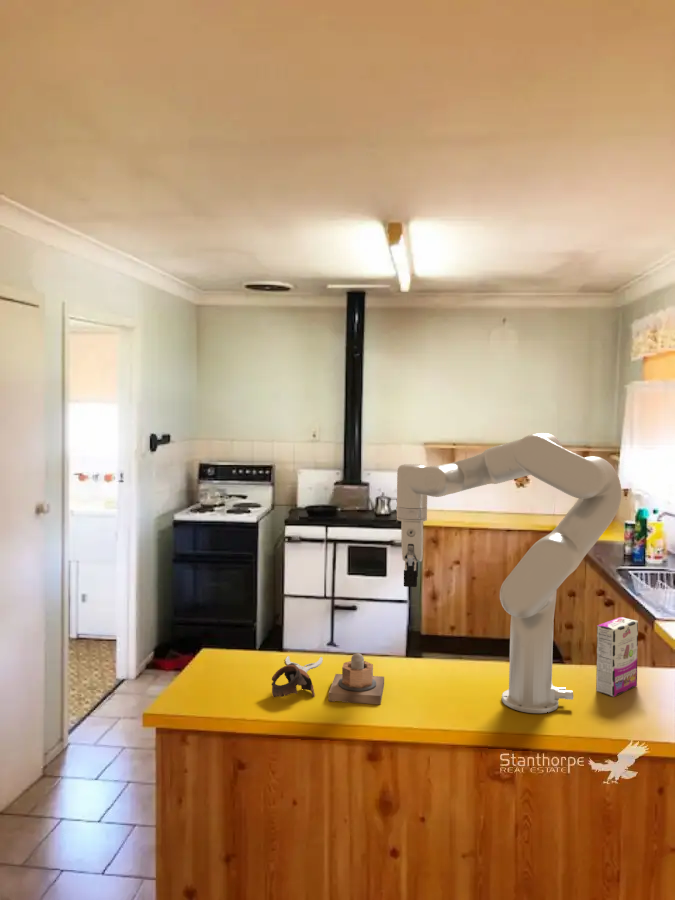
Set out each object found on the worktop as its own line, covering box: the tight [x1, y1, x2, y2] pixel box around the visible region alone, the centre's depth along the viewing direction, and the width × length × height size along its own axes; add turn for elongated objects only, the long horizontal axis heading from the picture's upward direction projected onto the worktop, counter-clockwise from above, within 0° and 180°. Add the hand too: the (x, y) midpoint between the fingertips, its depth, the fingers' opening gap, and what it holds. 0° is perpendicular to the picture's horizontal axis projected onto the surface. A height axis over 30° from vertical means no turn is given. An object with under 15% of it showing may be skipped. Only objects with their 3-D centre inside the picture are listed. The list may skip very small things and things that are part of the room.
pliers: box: [285, 655, 323, 674], centre depth 188 cm, size 10×2×15 cm
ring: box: [341, 660, 374, 688], centre depth 171 cm, size 7×7×4 cm
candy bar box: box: [595, 616, 639, 698], centre depth 175 cm, size 11×5×16 cm, turn 129°
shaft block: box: [328, 652, 385, 705], centre depth 171 cm, size 12×12×10 cm
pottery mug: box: [271, 662, 316, 698], centre depth 170 cm, size 12×10×8 cm
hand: (410, 581), depth 180 cm, fingers open, 9 cm apart
